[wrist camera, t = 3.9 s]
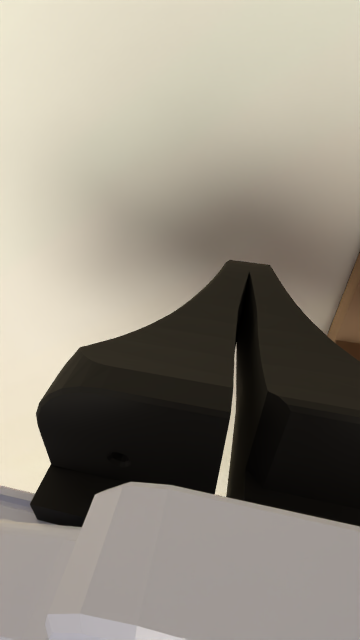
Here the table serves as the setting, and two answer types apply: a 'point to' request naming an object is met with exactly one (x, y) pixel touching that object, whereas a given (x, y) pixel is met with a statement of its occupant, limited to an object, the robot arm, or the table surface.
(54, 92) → the table surface
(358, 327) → the chute
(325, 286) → the table surface
